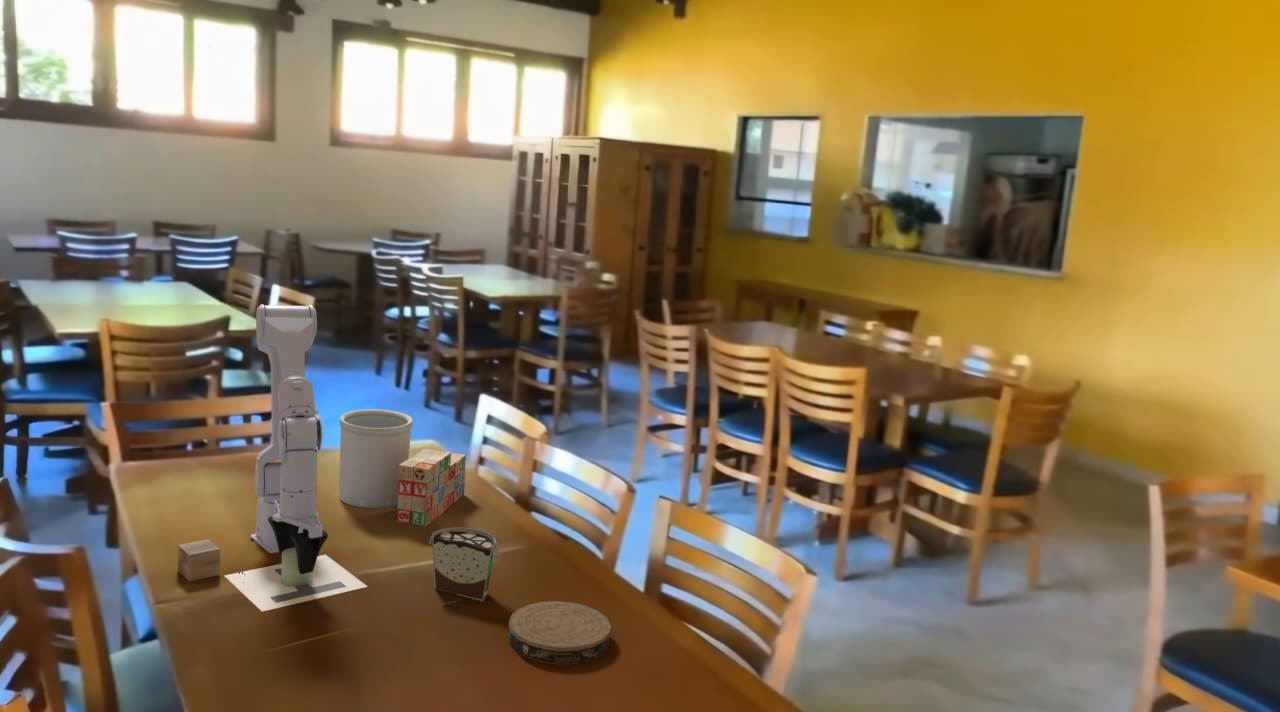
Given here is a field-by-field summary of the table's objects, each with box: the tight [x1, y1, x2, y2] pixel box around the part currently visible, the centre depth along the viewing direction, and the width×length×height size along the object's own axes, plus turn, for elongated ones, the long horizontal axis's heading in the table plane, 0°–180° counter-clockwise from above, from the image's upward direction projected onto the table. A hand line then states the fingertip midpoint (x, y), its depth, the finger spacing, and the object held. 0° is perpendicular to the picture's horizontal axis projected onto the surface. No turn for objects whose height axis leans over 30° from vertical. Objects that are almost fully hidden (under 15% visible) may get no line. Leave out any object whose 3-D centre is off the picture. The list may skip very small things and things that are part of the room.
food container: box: [428, 527, 499, 602], centre depth 170 cm, size 12×6×10 cm, turn 71°
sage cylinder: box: [281, 547, 313, 587], centre depth 167 cm, size 5×5×5 cm
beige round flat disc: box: [507, 600, 612, 665], centre depth 155 cm, size 16×16×3 cm
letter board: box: [224, 554, 368, 613], centre depth 167 cm, size 16×18×1 cm
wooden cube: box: [177, 538, 221, 583], centre depth 167 cm, size 5×5×5 cm
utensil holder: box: [338, 408, 414, 509], centre depth 209 cm, size 15×15×18 cm
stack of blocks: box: [396, 448, 467, 527], centre depth 207 cm, size 21×6×12 cm, turn 169°
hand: (296, 564), depth 167 cm, fingers open, 7 cm apart
